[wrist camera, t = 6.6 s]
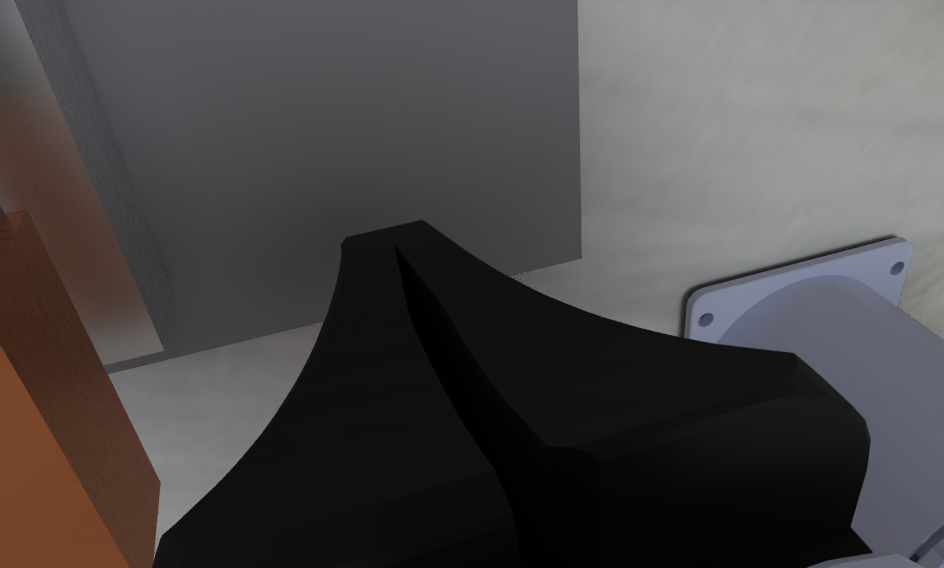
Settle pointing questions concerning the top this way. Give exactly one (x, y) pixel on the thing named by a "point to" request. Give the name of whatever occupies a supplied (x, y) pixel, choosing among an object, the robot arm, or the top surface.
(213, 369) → the top surface
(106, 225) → the ball valve
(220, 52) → the mounting board
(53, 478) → the valve lever
